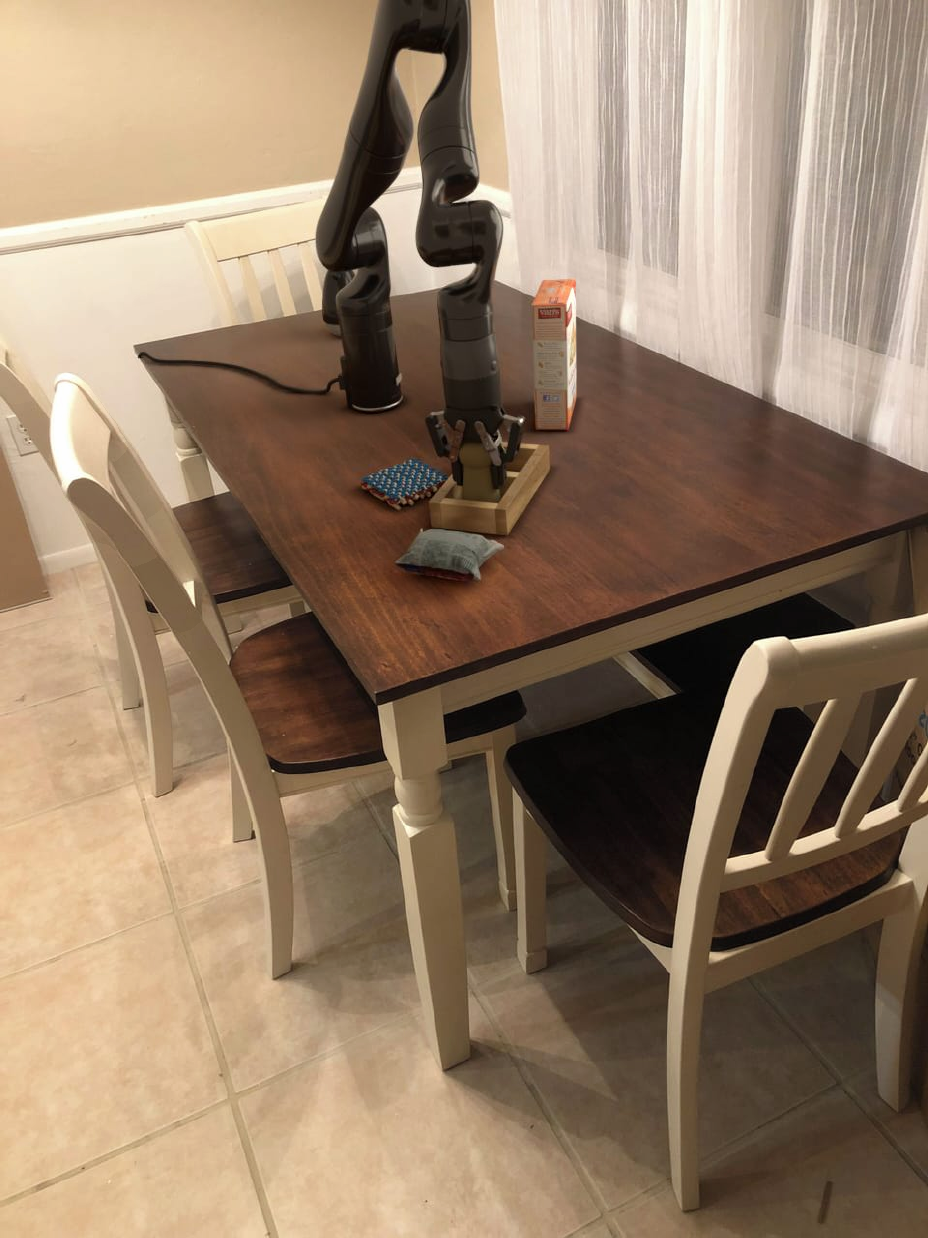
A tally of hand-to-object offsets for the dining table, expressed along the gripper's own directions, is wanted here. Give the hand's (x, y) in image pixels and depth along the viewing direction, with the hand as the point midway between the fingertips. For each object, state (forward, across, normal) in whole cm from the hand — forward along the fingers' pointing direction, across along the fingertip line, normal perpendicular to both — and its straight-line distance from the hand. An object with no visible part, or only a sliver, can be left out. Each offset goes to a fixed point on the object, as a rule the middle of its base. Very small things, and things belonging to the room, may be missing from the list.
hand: (480, 484), depth 133 cm
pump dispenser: (+5, +57, -73) cm, 93 cm away
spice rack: (+4, 0, -5) cm, 6 cm away
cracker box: (+5, -1, -36) cm, 36 cm away
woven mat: (+5, +14, -5) cm, 15 cm away
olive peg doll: (+5, 0, 0) cm, 5 cm away
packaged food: (+5, -1, +15) cm, 16 cm away
